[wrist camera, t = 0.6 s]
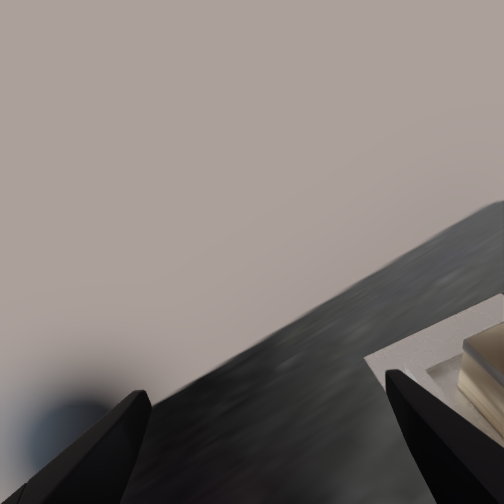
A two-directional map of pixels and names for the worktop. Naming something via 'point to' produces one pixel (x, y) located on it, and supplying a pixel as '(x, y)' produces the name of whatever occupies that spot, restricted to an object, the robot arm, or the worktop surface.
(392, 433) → the worktop surface
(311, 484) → the worktop surface
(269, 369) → the worktop surface
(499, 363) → the strut
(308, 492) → the worktop surface
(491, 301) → the socket collar
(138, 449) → the robot arm
